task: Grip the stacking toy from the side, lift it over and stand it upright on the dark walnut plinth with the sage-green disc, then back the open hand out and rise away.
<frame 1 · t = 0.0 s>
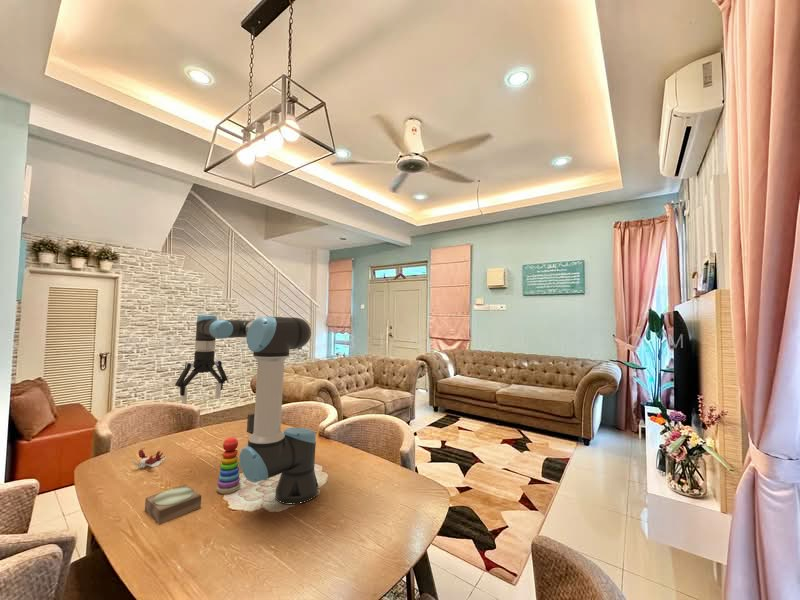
hand: (201, 400, 145), 28 cm above the table, tool pointing down, fingers open, 13 cm apart
walnut plinth: (173, 509, 113), on the table
stacking toy: (228, 489, 127), on the table
pepper mill: (262, 432, 190), on the table
figurine: (149, 467, 143), on the table
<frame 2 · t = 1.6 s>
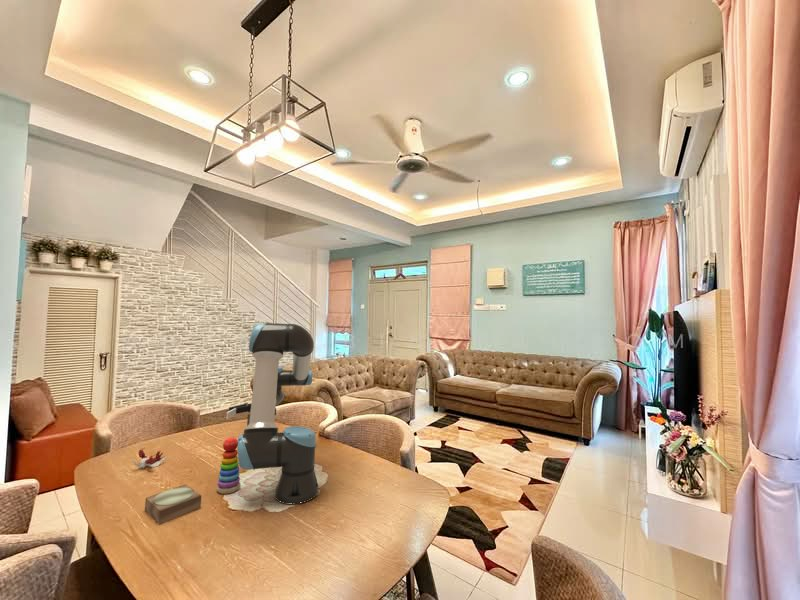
hand: (244, 416, 137), 24 cm above the table, tool horizontal, fingers open, 13 cm apart
nothing on the table moved.
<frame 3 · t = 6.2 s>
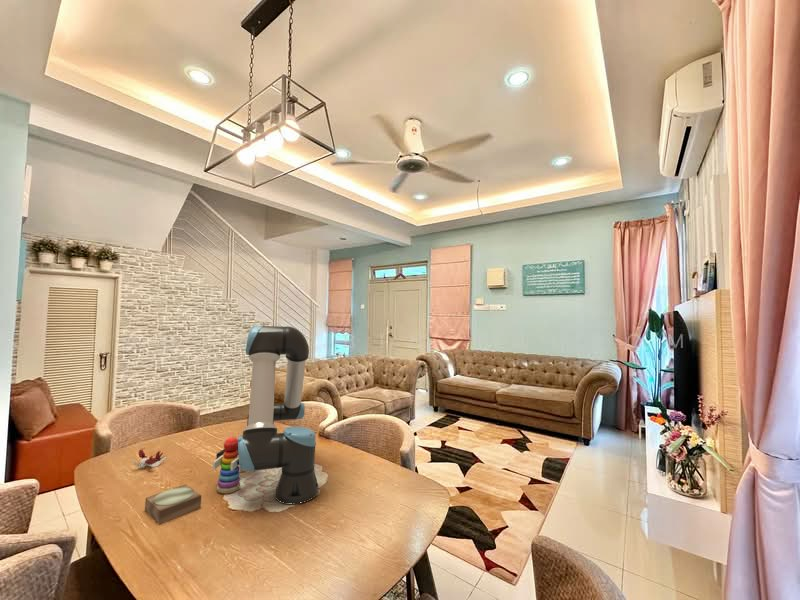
hand: (222, 466, 122), 11 cm above the table, tool horizontal, fingers closed on stacking toy, 6 cm apart
stacking toy: (228, 489, 127), on the table, touching gripper
everything else where it was.
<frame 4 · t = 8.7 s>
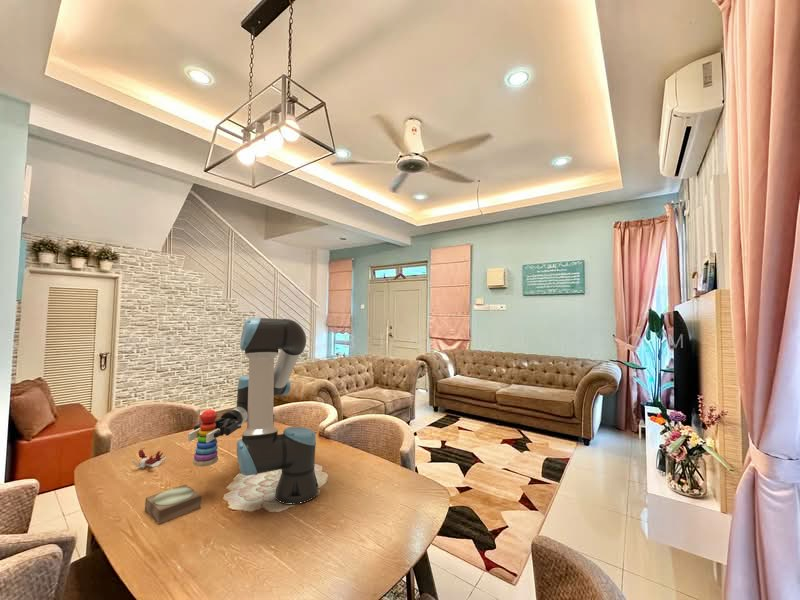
hand: (198, 438, 118), 22 cm above the table, tool horizontal, fingers closed on stacking toy, 6 cm apart
stacking toy: (205, 463, 122), point 11 cm above the table, touching gripper
everything else where it was.
when the fingers open (16 cm above the table, at t = 11.1 s): stacking toy drops 1 cm, resting on walnut plinth.
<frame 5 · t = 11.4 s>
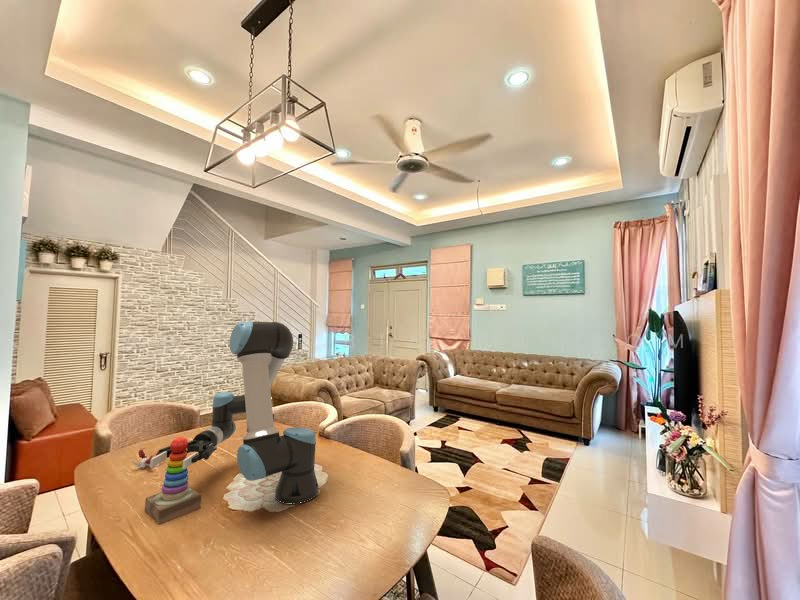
hand: (167, 464, 109), 16 cm above the table, tool horizontal, fingers open, 10 cm apart
stacking toy: (174, 495, 113), point 4 cm above the table, touching walnut plinth
everything else where it was.
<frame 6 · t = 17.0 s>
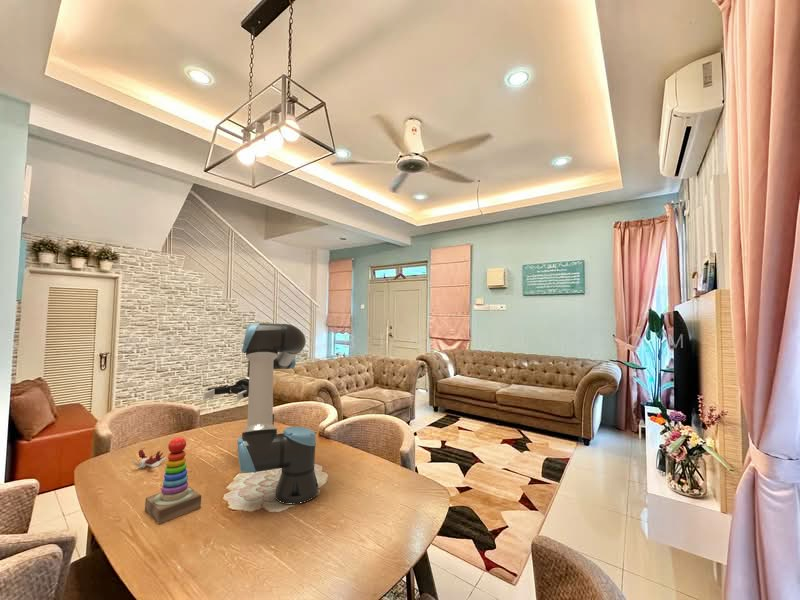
hand: (221, 396, 137), 32 cm above the table, tool horizontal, fingers open, 13 cm apart
at the end: stacking toy inside the target area on the walnut plinth (0.2 cm from its centre), point 4.1 cm above the walnut plinth's base; stacking toy tilted 0°; the gripper is holding nothing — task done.
